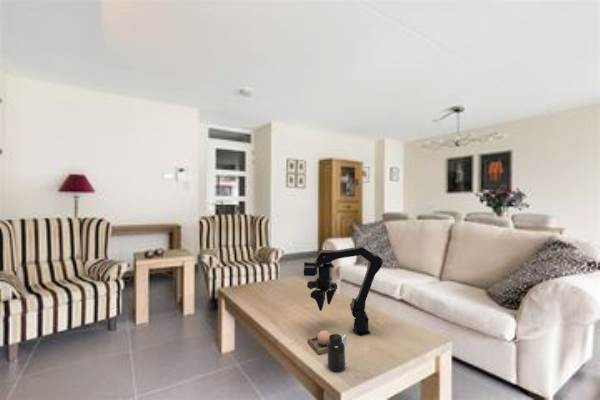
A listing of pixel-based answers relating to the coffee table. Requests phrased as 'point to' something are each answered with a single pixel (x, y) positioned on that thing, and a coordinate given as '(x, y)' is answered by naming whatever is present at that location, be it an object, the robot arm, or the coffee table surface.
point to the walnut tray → (317, 345)
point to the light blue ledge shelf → (344, 340)
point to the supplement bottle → (336, 353)
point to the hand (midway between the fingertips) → (324, 307)
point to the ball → (323, 337)
